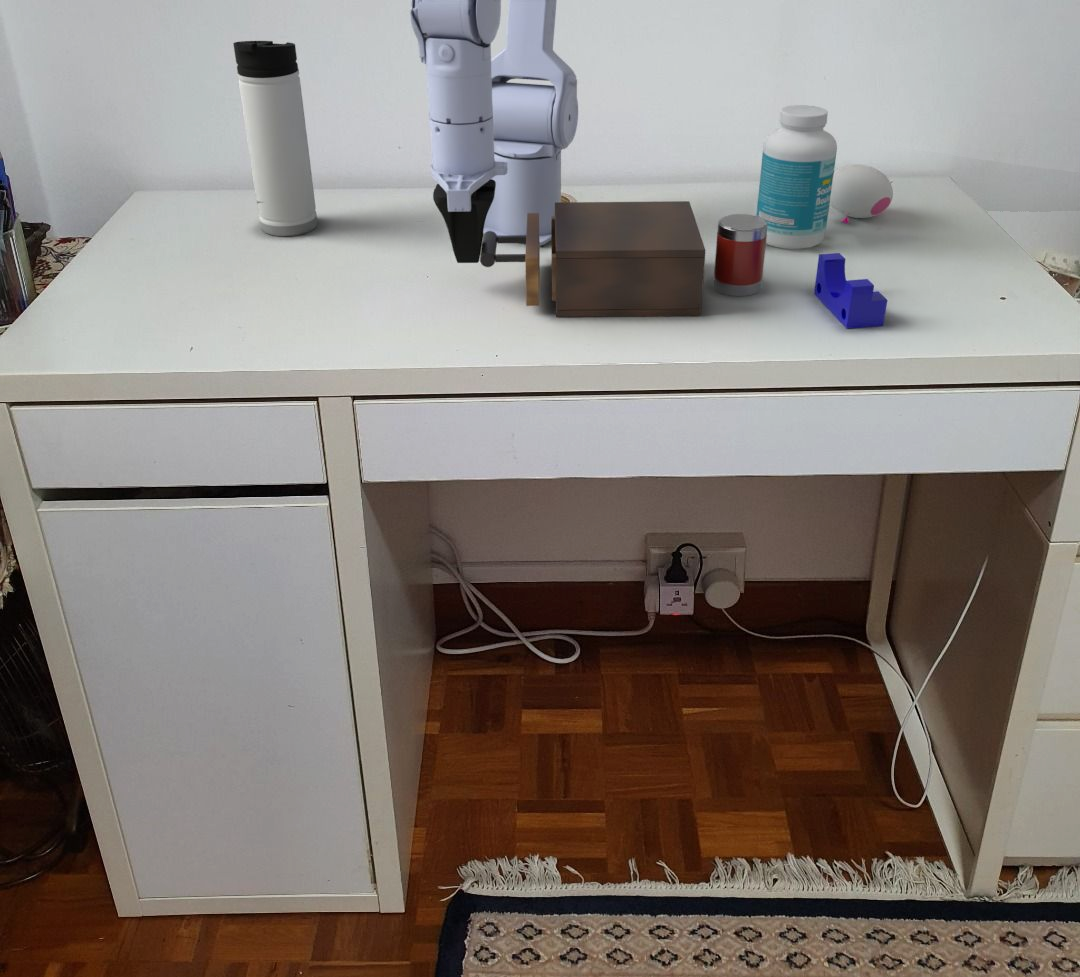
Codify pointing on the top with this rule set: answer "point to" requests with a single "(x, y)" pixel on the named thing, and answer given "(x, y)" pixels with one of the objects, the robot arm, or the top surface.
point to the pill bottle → (797, 178)
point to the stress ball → (860, 191)
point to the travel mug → (276, 136)
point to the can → (740, 254)
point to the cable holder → (848, 294)
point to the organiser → (628, 259)
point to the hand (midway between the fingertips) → (468, 260)
